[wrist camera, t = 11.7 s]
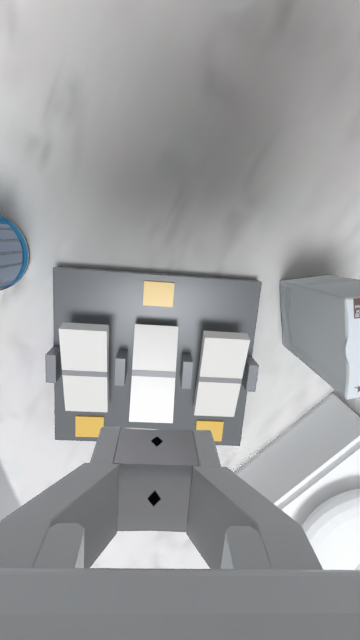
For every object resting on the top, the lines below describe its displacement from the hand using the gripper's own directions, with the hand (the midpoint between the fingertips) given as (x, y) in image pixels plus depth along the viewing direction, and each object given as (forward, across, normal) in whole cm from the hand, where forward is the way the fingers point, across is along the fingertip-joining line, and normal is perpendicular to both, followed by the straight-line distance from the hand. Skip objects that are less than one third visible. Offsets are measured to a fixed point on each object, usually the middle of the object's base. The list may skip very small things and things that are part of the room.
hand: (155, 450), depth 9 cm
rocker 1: (+25, +7, +8) cm, 27 cm away
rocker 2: (+25, 0, +8) cm, 26 cm away
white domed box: (+30, -23, +24) cm, 44 cm away
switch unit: (+29, 0, +8) cm, 30 cm away
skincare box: (+29, -17, +1) cm, 34 cm away
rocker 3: (+25, -7, +8) cm, 27 cm away
